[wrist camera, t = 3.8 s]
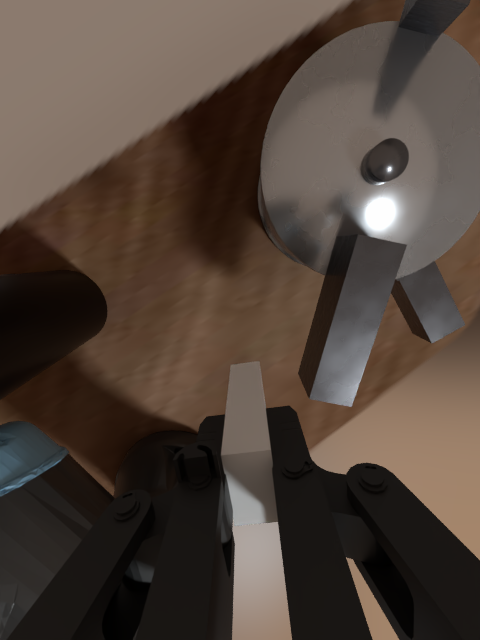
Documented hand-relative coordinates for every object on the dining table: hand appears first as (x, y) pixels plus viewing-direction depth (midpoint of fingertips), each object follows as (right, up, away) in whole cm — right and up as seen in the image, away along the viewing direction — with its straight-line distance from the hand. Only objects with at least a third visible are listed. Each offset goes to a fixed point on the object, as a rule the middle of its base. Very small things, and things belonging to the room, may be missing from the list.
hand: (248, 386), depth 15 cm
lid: (+8, +11, +6) cm, 15 cm away
